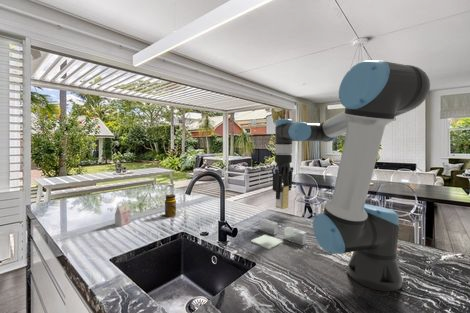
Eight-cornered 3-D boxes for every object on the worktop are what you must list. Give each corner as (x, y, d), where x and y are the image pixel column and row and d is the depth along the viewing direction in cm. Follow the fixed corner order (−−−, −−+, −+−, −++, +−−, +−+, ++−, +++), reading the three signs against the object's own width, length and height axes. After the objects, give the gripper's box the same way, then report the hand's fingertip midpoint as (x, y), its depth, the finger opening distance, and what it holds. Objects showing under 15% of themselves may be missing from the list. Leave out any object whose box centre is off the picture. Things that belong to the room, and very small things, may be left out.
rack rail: (306, 243, 102) (306, 232, 101) (302, 245, 100) (302, 234, 99) (263, 228, 119) (263, 218, 119) (259, 229, 117) (259, 219, 117)
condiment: (178, 216, 136) (178, 195, 135) (163, 219, 131) (163, 197, 130) (173, 213, 142) (173, 193, 141) (159, 215, 137) (159, 195, 136)
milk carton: (115, 225, 119) (114, 206, 119) (125, 221, 126) (125, 203, 125) (120, 226, 118) (120, 207, 118) (130, 222, 125) (130, 203, 124)
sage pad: (283, 242, 102) (283, 241, 102) (269, 249, 96) (269, 248, 96) (265, 235, 110) (265, 234, 110) (250, 241, 103) (250, 240, 103)
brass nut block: (288, 207, 108) (288, 186, 108) (282, 209, 106) (283, 187, 105) (280, 205, 111) (281, 184, 111) (275, 207, 109) (276, 185, 108)
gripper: (287, 153, 116) (286, 200, 117) (264, 154, 104) (263, 206, 105) (301, 154, 110) (299, 203, 112) (278, 155, 98) (277, 210, 100)
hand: (281, 205), depth 109 cm, fingers closed on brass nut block, 4 cm apart
